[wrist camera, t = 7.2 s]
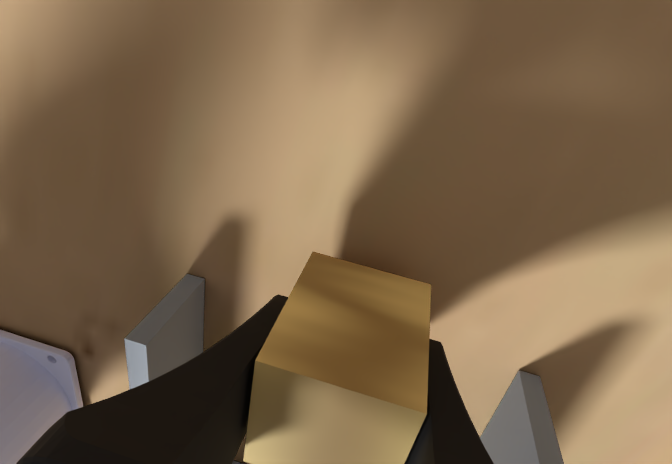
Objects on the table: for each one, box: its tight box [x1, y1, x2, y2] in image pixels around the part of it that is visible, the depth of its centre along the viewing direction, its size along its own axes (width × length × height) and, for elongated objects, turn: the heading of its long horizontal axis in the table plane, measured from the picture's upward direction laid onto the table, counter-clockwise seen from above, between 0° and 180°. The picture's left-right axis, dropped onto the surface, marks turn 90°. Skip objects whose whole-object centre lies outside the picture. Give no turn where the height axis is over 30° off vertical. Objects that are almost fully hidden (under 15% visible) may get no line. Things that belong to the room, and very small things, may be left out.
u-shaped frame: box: [124, 274, 564, 464], centre depth 18 cm, size 15×13×4 cm
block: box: [243, 252, 431, 464], centre depth 12 cm, size 4×4×5 cm
